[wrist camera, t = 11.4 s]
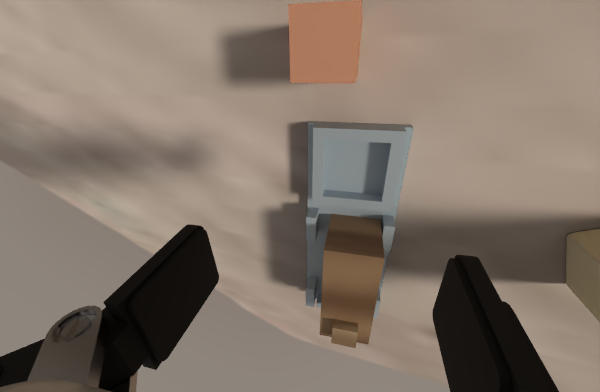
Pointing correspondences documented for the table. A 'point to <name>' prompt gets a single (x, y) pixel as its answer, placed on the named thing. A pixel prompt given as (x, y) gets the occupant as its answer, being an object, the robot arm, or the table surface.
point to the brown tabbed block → (351, 278)
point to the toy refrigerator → (584, 268)
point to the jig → (352, 185)
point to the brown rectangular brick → (325, 41)
